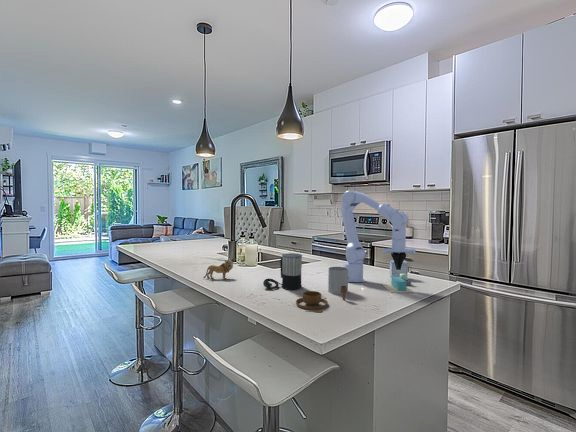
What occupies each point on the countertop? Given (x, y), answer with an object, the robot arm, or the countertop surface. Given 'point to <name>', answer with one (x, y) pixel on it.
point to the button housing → (408, 282)
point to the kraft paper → (394, 289)
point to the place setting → (316, 300)
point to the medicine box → (395, 272)
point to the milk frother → (288, 272)
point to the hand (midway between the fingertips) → (398, 269)
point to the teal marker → (398, 283)
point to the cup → (337, 279)
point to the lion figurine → (219, 269)
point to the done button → (403, 276)
